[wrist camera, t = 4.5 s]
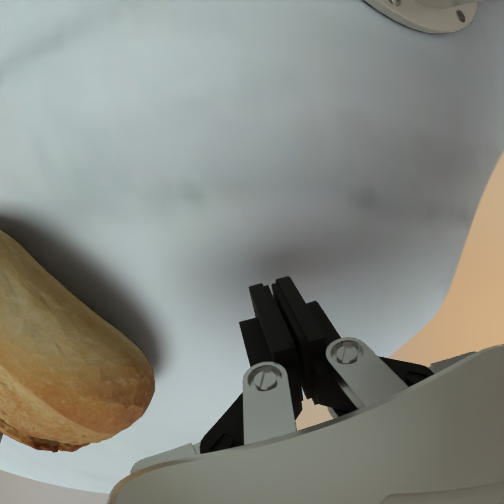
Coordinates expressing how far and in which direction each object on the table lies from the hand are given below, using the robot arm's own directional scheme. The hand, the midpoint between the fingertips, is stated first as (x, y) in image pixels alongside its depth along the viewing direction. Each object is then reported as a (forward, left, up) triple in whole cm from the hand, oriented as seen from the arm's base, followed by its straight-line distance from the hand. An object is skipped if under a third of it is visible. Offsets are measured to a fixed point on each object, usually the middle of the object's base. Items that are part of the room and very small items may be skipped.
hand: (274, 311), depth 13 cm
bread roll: (+13, 0, -5) cm, 13 cm away
